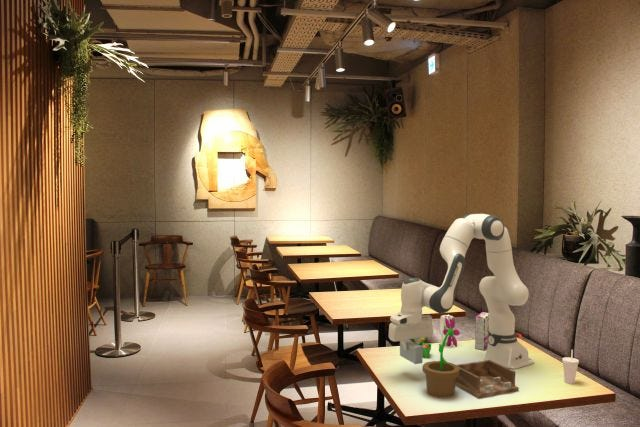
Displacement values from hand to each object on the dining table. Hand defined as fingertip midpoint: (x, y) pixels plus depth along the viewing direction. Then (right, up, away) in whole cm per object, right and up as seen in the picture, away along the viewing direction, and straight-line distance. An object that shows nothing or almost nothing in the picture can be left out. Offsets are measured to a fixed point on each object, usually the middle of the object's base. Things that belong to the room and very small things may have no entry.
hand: (411, 348), depth 234 cm
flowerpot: (+9, -14, -16) cm, 23 cm away
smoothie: (+66, -13, -3) cm, 67 cm away
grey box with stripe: (0, -5, 0) cm, 4 cm away
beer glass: (+25, -10, +45) cm, 52 cm away
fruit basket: (+9, -10, +30) cm, 33 cm away
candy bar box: (+43, -10, +44) cm, 62 cm away
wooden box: (+28, -13, -10) cm, 33 cm away
